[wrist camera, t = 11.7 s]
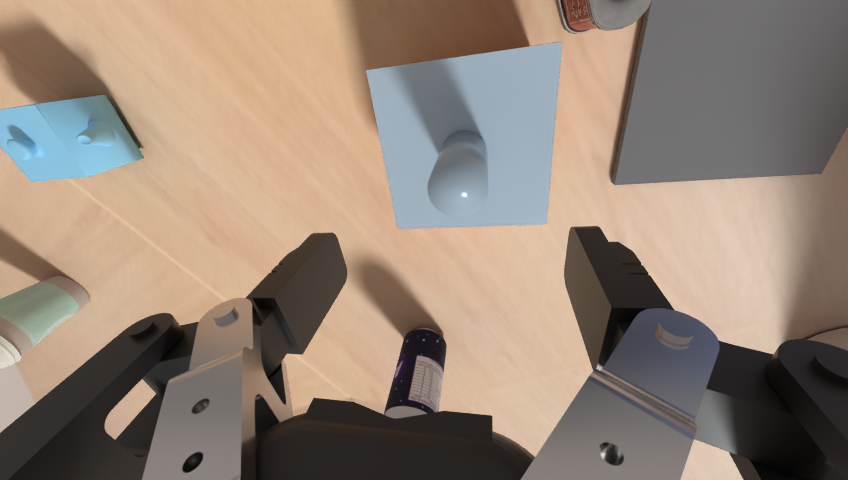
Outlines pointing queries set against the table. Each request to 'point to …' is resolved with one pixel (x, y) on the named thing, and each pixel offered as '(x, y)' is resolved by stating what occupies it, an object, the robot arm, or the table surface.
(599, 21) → the lighter
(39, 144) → the teapot
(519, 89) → the lid
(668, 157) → the mat
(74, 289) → the coffee cup
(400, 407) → the beverage can
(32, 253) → the table surface
